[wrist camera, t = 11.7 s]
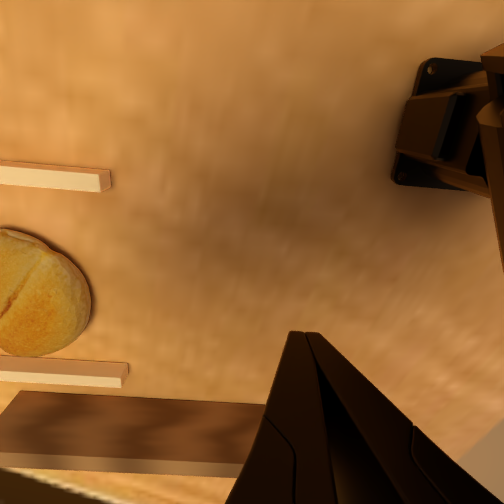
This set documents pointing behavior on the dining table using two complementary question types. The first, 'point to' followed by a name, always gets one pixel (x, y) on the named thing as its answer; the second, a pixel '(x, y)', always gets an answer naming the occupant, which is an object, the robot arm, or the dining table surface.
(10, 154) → the dining table surface
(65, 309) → the bread roll
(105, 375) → the serving bay
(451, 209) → the dining table surface
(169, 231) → the dining table surface
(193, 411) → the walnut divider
